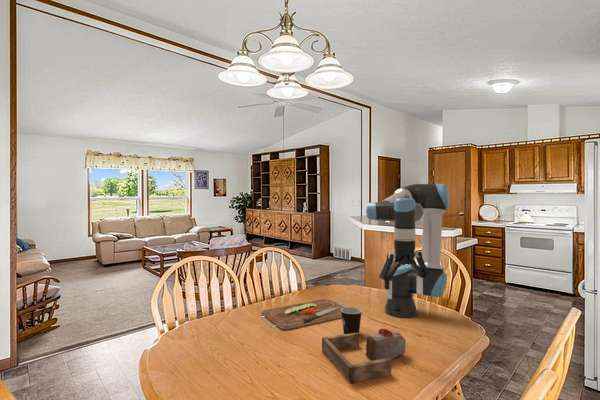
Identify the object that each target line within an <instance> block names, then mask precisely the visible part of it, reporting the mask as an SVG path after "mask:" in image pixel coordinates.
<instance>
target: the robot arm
mask: <svg viewBox="0 0 600 400" xmlns="http://www.w3.org/2000/svg"><path fill="white" fill-rule="evenodd" d="M450 207H451V196H450V192H449V188H448V185H446V184H445V183H437V182H436V183H413V184H409V185H405V186H402V187H400V188H399V189H397V190H395V191H394V193H393V194H392V195H390V196H388V197H386V198H384V199H383V200H381V201H379V202H377V201H376V202H375V201H374V202H369V203H367V205H366V208H365V213H366V217H367V219H368V220H370V221H384V222H385V221H389V222H393V223H394V224H393V225H394V231H393V232H394V234H393V235H394V241H393V243H394V247H393V249H394V253H391V252H388V253H387V255H386V260H385V262H384V264H383V267H382V269H381V272H380V274H379V278H380V279H382V280H383V282H384V284H383V286H384V289H385V297H386V303H385V306H384V313H386V314H387V315H389V316H392V317H396V318H413V317H415V316H416V315H417V314H418V313H417V312H418V311H417V307H416V304H415V301H414V297H413V296H414V295H419V296H426V297H431V298H432V297H433V298H441V297H443V295H444V293H445V291H446V286H447V283H448V282H447V280H448V274H447V273H446V272H444V267H443V266H442V264H441V256H442V255H441V254H442V253H441V250H442V236H443V235H442V234H443V231H442V230H443V215H444V214H445V213H446V211H447V209H448V208H450ZM422 218H423V219H422ZM420 219H421V220H422V239H421V251H419V250H416V240H415V239H416V223H417V221H419V220H420ZM415 259H416V260H415ZM417 263H418V264H417Z"/></svg>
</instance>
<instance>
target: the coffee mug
mask: <svg viewBox="0 0 600 400" xmlns="http://www.w3.org/2000/svg"><path fill="white" fill-rule="evenodd" d="M362 311H363V310H362V308H359V307H354V306H347V307H345V308H342V309H341V314H342V319H341V321H342V329H343V335H344V334H350V333H359V334H360V328H361V320H362Z"/></svg>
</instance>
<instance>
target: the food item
mask: <svg viewBox="0 0 600 400" xmlns="http://www.w3.org/2000/svg"><path fill="white" fill-rule="evenodd" d="M406 343H407V342H406V338H405V337H404V336H403V335H402V334H401V332H399V331H398V330H396V329H388V328H380V329H378V333H377V332H376V333H372V334H371V333H370V334H367V336H366V345H365V351H366V352H365V356H366V357H367V358H368V359H369V360H371V361H375V360H380V359H385V358H390V359H391V360H393V359H394V358H396V357H399V356H402V355H403V354H405V352H406V350H407V349H406Z"/></svg>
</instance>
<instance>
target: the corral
mask: <svg viewBox="0 0 600 400" xmlns="http://www.w3.org/2000/svg"><path fill="white" fill-rule="evenodd" d="M359 347H360V332H359V333H350V334H344V333H343V334H339V335H331V336H326V337H322V338H321V351H322V352H323V354H324V355H325V356H326V358H327V359H328V360H329V361H330V362H331V363H332V364H333V365H334V366H335V368H336V369H337V371H339V372H340V373H341V375H342V374H343V375H342V376H343V377H344V378H345V379H346V380H347V381H348V383H349V384H355V383H356V384H357V383H359V382H363V381H368V380H375V379H377V378H378V379H379V378H384V377H389V376H392V359H390V358H385V359H380V360H375V361H372V360H371V361H366V362H364V361H363V362H359V363H354V364H353V363H351V362H350V360H348V358H347V357H345V356H344V355H343V354H342V353H341V352H340V351H342V350H343V351H344V350H347V349H352V348H353V349H355V348H359Z"/></svg>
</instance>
